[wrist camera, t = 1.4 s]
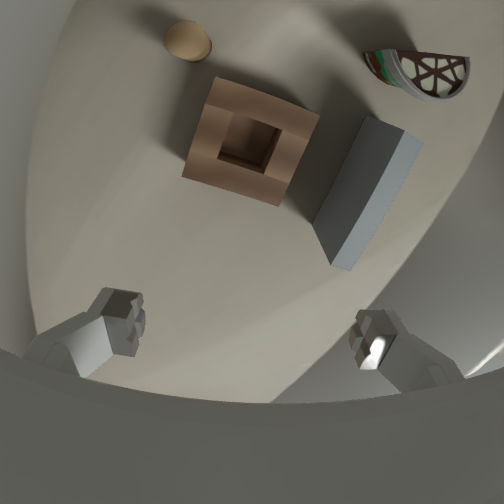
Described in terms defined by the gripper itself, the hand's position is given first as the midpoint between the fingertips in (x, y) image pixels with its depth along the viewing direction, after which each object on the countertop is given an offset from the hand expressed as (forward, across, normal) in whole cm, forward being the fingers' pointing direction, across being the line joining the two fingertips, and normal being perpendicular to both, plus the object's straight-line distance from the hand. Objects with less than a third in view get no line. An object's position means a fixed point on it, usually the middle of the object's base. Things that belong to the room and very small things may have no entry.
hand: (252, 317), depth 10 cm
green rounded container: (+28, -18, -17) cm, 38 cm away
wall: (+30, -14, -1) cm, 33 cm away
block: (+29, 0, -4) cm, 29 cm away
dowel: (+27, +8, -15) cm, 32 cm away
